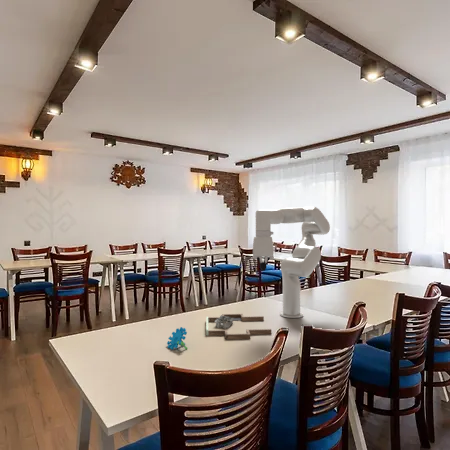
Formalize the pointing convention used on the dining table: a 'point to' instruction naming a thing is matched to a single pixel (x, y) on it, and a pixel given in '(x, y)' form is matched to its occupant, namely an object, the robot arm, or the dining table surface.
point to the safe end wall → (206, 326)
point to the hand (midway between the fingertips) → (263, 270)
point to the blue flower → (177, 338)
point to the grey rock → (224, 322)
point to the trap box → (239, 336)
